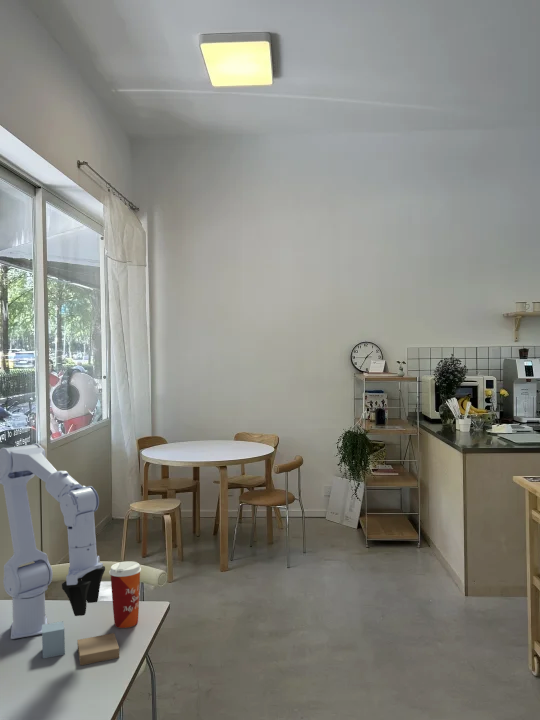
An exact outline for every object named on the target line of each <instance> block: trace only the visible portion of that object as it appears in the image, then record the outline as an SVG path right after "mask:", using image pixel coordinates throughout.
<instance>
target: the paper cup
mask: <svg viewBox="0 0 540 720" xmlns="http://www.w3.org/2000/svg"><path fill="white" fill-rule="evenodd" d="M141 571H142V568H141V566H140V563H138V562H137V561H131V560H130V561H127V560H126V561H119V562H116V563H114V564H112V565H111V566H110V570H109V571H108V573H109V575H110V587H111V597H112V599H111V600H112V609H113V610H112V612H113V622H114V626H115V628H118V629H128V628H132V627H134V626H136V625H138V623H139V608H140V579H141Z"/></svg>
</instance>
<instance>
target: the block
mask: <svg viewBox="0 0 540 720" xmlns="http://www.w3.org/2000/svg"><path fill="white" fill-rule="evenodd" d="M64 624H65V623H64V620H63V621H61V620H60V621H57V622H50V623H47V624H44V625H42V634H41V641H42V643H41V644H42V659H46V658H51V657H58V656H62V655H65V654H66V651H65V650H66V648H65V647H66V646H65V643H66V641H65V639H66V638H65V625H64Z"/></svg>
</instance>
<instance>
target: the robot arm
mask: <svg viewBox="0 0 540 720" xmlns="http://www.w3.org/2000/svg"><path fill="white" fill-rule="evenodd" d="M35 476H36V477H37V478H39V479H40V480H42V481H43V482H44V483H45V485H44V486H45V490H46V492H47V493H48V494H49V495H51V497H52V498H53V499H55V501H57V502H58V503H59V508H60V512H61V514H62V516H63V524H64V525H65V526H66V527H67V529H66V530H67V544H68V545H67V546H68V559H69V562H68V563H69V567H68V570H67V572H68V574H66V577H65V579H66V580H65V581H64V582H62V583H61V589H62V590H63V592H64V594H66V596H67V599H68V601H69V603H70V605H71V609H72V611H73V614H74V617H78V616H79V617H81V616H85V615H86V612H87V603H88V604H91V603H92V604H93V603H97V602H98V601H99V597H100V596H99V595H100V588H101V583H102V579H103V575H104V574H105V571H106V566H105V565H104V563H103V562H100V561H101V559H100V555H98V554H97V553H98V551H97V539H96V537H97V536H96V525H95V512H96V511H97V510H98V508H99V505H100V497H99V494H98V492H97V490H96V489H95V487H93V486H92V485H88V486H86V485H82V484H81V483H79V482H78V481H77V480H76V479H75V478H73V476H71V475H70V474H69V472H68V471H67V470H57V469H56V468H55V467H54V465H53V464H52V463H51V462H50V461H49V460H48V459H47V457H46V450H45V448H43V446H42V445H40V444H39V443H32V444H26V445H21V446H20V445H19V446H12V447H10V446H9V447H1V448H0V484H1V485H2V487H3V492H4V498H5V499H4V500H5V506H6V511H7V512H6V513H7V519H8V525H9V530H10V536H11V543H12V550H13V551H12V552H13V554H12V556H10V558H9V559H8V560H7V561H6V563H5V564H4V565H3V582H2V583H3V588H4V590H5V593H6V594H7V595H8V596H10V597H11V598H12V600H11V601H12V622H11V629H10V639H11V640H15V639H20V638H26V637H33V636H38V635H42V625H44V624H48V618H47V617H48V616H46V591H47V590H48V586H49V585H50V584H51V583H52V581H53V575H54V573H53V568H52V565H51V564H50V561H49V557H48V554H47V553H46V552H43V551H42V550H39V549H38V548H37V543H36V537H35V532H34V527H33V526H34V525H33V520H32V519H33V518H32V512H31V508H30V507H31V506H30V502H29V501H30V500H29V494H28V489H27V485H28V483H29V481H30V480H31V479H33V478H34V477H35Z"/></svg>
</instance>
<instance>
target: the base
mask: <svg viewBox="0 0 540 720" xmlns="http://www.w3.org/2000/svg"><path fill="white" fill-rule="evenodd" d="M77 653H78V659H79V666H84V665H89V664H90V665H91V664H94V663H95V664H96V663H99V662H104V661H109V660H113V659H114V660H115V659H118V658H119V659H120V646H119V644H118V641H117V638H116V633H115V632H111V633H106V634H102V635H95V636H90V637H86V638H80V639H77Z"/></svg>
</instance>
